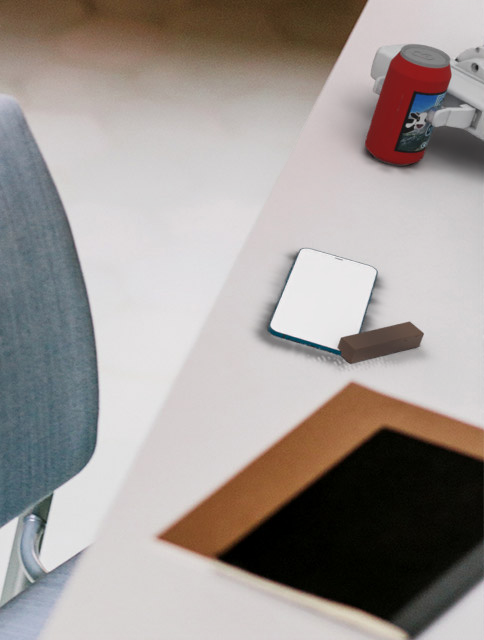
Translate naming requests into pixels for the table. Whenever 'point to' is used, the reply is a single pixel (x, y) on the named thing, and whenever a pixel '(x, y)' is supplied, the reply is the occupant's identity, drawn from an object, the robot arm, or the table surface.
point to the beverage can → (408, 104)
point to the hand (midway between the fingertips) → (404, 102)
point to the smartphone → (323, 300)
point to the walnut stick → (380, 342)
